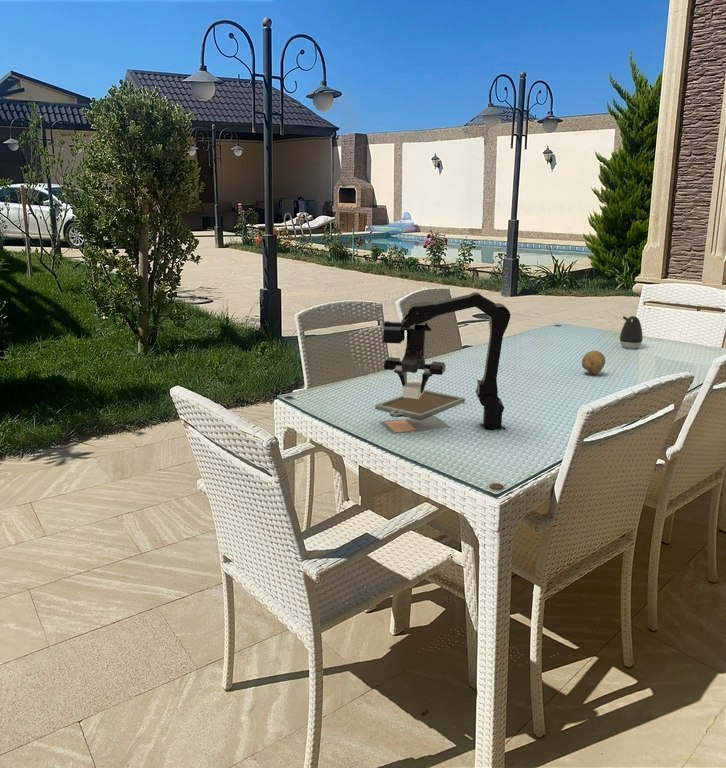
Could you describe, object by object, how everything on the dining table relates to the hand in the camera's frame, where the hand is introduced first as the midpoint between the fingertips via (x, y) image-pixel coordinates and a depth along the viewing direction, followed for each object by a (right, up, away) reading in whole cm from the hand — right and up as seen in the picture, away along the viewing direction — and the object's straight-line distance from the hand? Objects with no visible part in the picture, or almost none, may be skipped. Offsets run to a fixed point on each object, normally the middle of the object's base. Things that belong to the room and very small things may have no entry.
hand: (413, 392), depth 230 cm
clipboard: (+3, -5, +22) cm, 23 cm away
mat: (+1, -11, +3) cm, 12 cm away
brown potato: (+78, +6, +66) cm, 102 cm away
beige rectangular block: (0, -1, 0) cm, 1 cm away
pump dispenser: (+110, +20, +114) cm, 160 cm away
